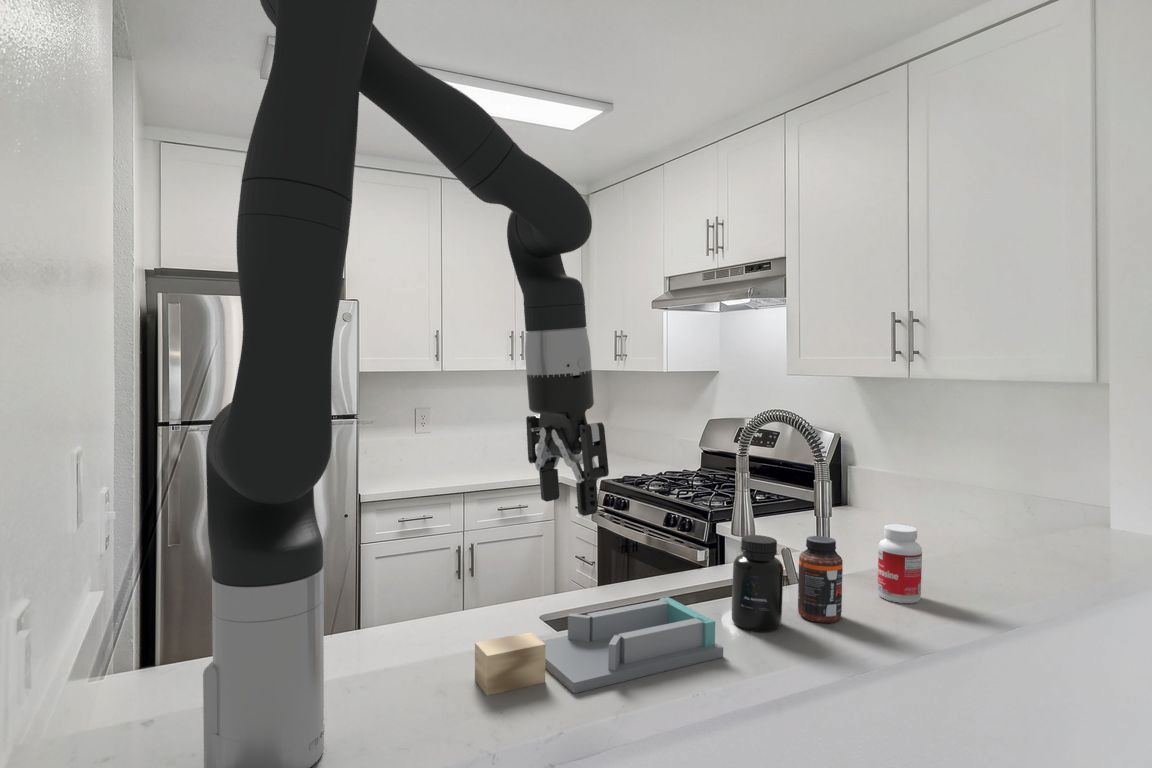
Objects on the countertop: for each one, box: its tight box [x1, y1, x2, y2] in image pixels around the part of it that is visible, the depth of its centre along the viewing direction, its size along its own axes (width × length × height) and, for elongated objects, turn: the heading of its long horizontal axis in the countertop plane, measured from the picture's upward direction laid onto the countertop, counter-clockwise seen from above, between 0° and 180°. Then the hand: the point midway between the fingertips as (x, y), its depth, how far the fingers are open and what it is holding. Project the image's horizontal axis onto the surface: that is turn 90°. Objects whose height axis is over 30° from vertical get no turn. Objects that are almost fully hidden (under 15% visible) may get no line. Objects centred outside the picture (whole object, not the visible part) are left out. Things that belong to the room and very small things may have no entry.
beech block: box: [474, 631, 546, 696], centre depth 80 cm, size 7×4×4 cm, turn 118°
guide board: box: [541, 596, 724, 694], centre depth 87 cm, size 21×12×4 cm, turn 118°
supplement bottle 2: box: [797, 535, 844, 624], centre depth 101 cm, size 6×6×11 cm
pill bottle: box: [876, 523, 923, 604], centre depth 109 cm, size 6×6×11 cm
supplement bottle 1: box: [731, 534, 784, 633], centre depth 98 cm, size 7×7×12 cm
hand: (568, 506), depth 82 cm, fingers open, 8 cm apart
